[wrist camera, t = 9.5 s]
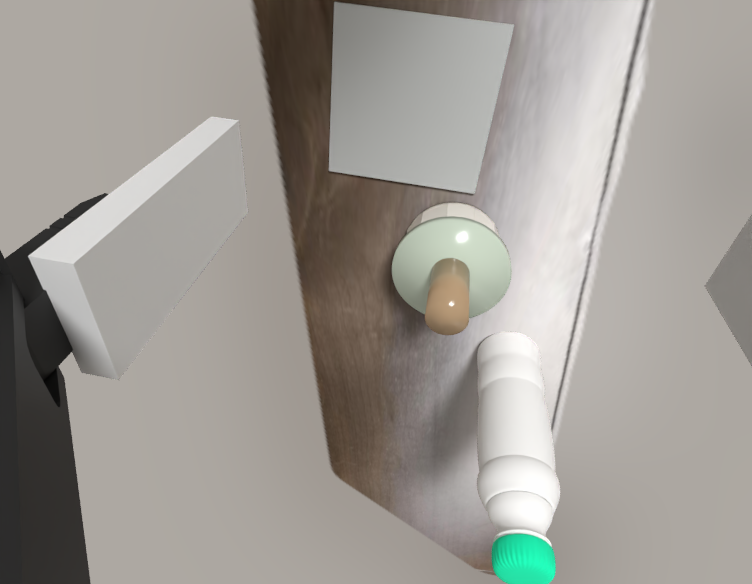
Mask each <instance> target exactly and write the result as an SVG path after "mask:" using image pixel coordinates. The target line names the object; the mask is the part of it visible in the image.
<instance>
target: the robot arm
mask: <svg viewBox="0 0 752 584" xmlns="http://www.w3.org/2000/svg"><path fill="white" fill-rule="evenodd" d="M247 213H248V205H247V194H246V184H245V174H244V164H243V154H242V145H241V134H240V125H239V120H234V119H227V118H220V117H213V116H211V117H210V118H208V119H207V120H206V121H204V122H203V123H202V124H200V125H199V126H198V127H197V128H195V129H194V130H193V131H191V132H190V133H189V134H187V135H186V136H185V137H183V138H182V139H181V140H180V141H178V142H177V143H175V144H174V145H173V146H172V147H170V148H169V149H168V150H167V151H165V152H164V153H162V154H161V155H160V156H159V157H157V158H156V159H155V160H153V161H152V162H151V163H149V164H148V165H147V166H145V167H144V168H143V169H142V170H140V171H139V172H137V173H136V174H135V175H134V176H132V177H131V178H130V179H129V180H127V181H126V182H124V183H123V184H122V185H120V186H119V187H118V188H116V189H115V190H114V191H113V192H111V193H110V194H105V193H104V194H102V195H99V196H97V197H94V198H92V199H90V200H87V201H85V202H82V203H80V204H79V205H78V206H76V207H75V208H73V209H72V210H71V211H69V212H68V213H67V214H65V215H64V218H60V219H59V220H57V221H56V222H54V223H53V224H52V225H50V228H49V229H45V230H43V231H42V232H41V233H39V234H38V235H37V236H35V237H34V238H32V239H31V240H30V241H28V242H27V243H26V244H24V245H23V246H22V247H20V248H19V249H17V250H16V251H15V252H13V253H12V254H11V255H9V256H8V257H6V258H5V259H4V257H3V255H2V253H1V251H0V584H90V577H89V570H88V561H87V553H86V545H85V537H84V530H83V522H82V515H81V506H80V499H79V490H78V483H77V474H76V467H75V459H74V451H73V444H72V435H71V427H70V420H69V412H68V404H67V396H66V388H65V382H64V381H65V380H64V377H63V375H62V373H61V371H60V369H59V367H58V366H59V365H60V363H62V361H63V360H64V359H65V358H66V357H67V356H68V355H69V354H70V353H71V352H72V353H73V355H74V357H75V359H76V361H77V363H78V366H79V368H80V370H81V372H82V373H86V374H92V375H97V376H102V377H107V378H112V379H117V380H119V379H120V377H121V376H122V375H123V374H124V372H125V371H126V370H127V369H128V367H129V366H130V365H131V363H132V362H133V361H134V360H135V358H136V357H137V356H138V354H139V353H140V352H141V350H142V349H143V348H144V347H145V345H146V344H147V343H148V341H149V340H150V339H151V337H152V336H153V335H154V334H155V332H156V331H157V330H158V328H159V327H160V326H161V325H162V323H163V322H164V321H165V319H166V318H167V317H168V315H169V314H170V313H171V312H172V310H173V309H174V308H175V306H176V305H177V304H178V303H179V301H180V300H181V299H182V297H183V296H184V295H185V294H186V292H187V291H188V290H189V288H190V287H191V286H192V284H193V283H194V282H195V281H196V279H197V278H198V277H199V275H200V274H201V273H202V272H203V270H204V269H205V268H206V266H207V265H208V264H209V262H210V261H211V260H212V259H213V257H214V256H215V255H216V253H217V252H218V251H219V249H220V248H221V247H222V246H223V244H224V243H225V242H226V241H227V239H228V238H229V237H230V235H231V234H232V233H233V231H234V230H235V229H236V228H237V226H238V225H239V224H240V222H241V221H242V219H244V217H245V216H246V215H247ZM705 288H706V289H707V291H708V293H709V294H710V296H711V298H712V299H713V301H714V303H715V305H716V306H717V308H718V310H719V311H720V313H721V315H722V316H723V318H724V320H725V321H726V323H727V325H728V327H729V328H730V330H731V332H732V333H733V335H734V337H735V338H736V340H737V342H738V343H739V345H740V347H741V349H742V350H743V352H744V353H745V355H746V357H747V359H748V361H749V362H750V364H751V366H752V215H751V216H750V218H749V219H748V221H747V223H746V224H745V226H744V227H743V228H742V230H741V232H740V233H739V235H738V236H737V238H736V239H735V241H734V242H733V244H732V245H731V247H730V248H729V250H728V251H727V253H726V254H725V256H724V257H723V259H722V260H721V262H720V264H719V265H718V267H717V268H716V270H715V271H714V273H713V274H712V276H711V277H710V279H709V280H708V282H707V283H706V285H705Z"/></svg>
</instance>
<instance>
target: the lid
mask: <svg viewBox="0 0 752 584" xmlns="http://www.w3.org/2000/svg"><path fill="white" fill-rule="evenodd" d="M511 272H512V271H511V261H510V256H509V252H508V250H507V248H506V245H505V244H504V242H503V241H502V239H501V238H500V237H499V236H498V235H497V234H496V233H495V232H494V231H493V230H492V229H490V228H489V227H487V226H485V225H484V224H482V223H480V222H477V221H475V220H472V219H468V218H463V217H455V216H447V217H438V218H434V219H430V220H428V221H425V222H422V223H421V224H419V225H417V226H415V227H414V228H413V229H411V230H410V231H409V232H408V233H407V234H406V235H405V236H404V237H403V238H402V240H401V241H400V243H399V244H398V246H397V248H396V251H395V254H394V258H393V263H392V277H393V281H394V284H395V287H396V289H397V291H398V292H399V294H400V295H401V297H402V298H403V299H404V300H405V301H406V302H407V303H408V304H409V305H410V306H412V307H413V308H414V309H416V310H417V311H419V312H421V313H423V314H425V322H426V324H427V326H428V327H429V328H430V329H431V330H433V331H434V332H436V333H438V334H442V335H454V334H457V333H460V332H461V331H463V330H464V329H465V328H466V327H467V325H468V322H469V318H472V317H475V316H478V315H480V314H483V313H484V312H486V311H488V310H490V309H491V308H492V307H494V306H495V305H496V304H497V303H498V302H499V301H500V300H501V299H502V298H503V296H504V295H505V293H506V291H507V289H508V287H509V285H510V280H511Z"/></svg>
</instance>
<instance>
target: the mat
mask: <svg viewBox="0 0 752 584" xmlns="http://www.w3.org/2000/svg"><path fill="white" fill-rule="evenodd" d="M513 29H514V24H506V23H498V22H490V21H482V20H475V19H467V18H459V17H451V16H444V15H436V14H428V13H420V12H412V11H405V10H397V9H389V8H381V7H373V6H366V5H358V4H350V3H342V2H334V22H333V54H332V85H331V117H330V148H329V171H332V172H339V173H345V174H351V175H358V176H364V177H370V178H377V179H383V180H390V181H396V182H402V183H409V184H415V185H421V186H428V187H434V188H440V189H447V190H453V191H460V192H466V193H472V194H475V190H476V186H477V181H478V177H479V173H480V169H481V164H482V160H483V156H484V152H485V147H486V143H487V139H488V135H489V130H490V126H491V122H492V118H493V113H494V109H495V105H496V101H497V97H498V92H499V88H500V84H501V80H502V75H503V71H504V67H505V63H506V58H507V54H508V50H509V46H510V41H511V37H512V33H513Z"/></svg>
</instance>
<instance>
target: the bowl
mask: <svg viewBox="0 0 752 584" xmlns="http://www.w3.org/2000/svg"><path fill="white" fill-rule="evenodd" d="M447 216H455V217H463V218H468V219H472V220H475V221H477V222H480V223H482V224H484V225H485V226H487V227H489V228H490V229H492V230H493V231H494V232H495V233H496V234H497V235H498V236H499V234H498V230H497V228H496V226H495V224H494V222H493V221H492V220H491V219H490V217H489V216H488V215H486V214H485V213H484V212H483V211H481V210H480V209H478V208H476V207H474V206H471V205H468V204H465V203H458V202H447V203H441V204H437V205H434V206H432V207H429V208H428V209H426V210H424V211H423V212H422V213H420V214H419V215H418V216H417V217H416V218H415V219H414V221H413V222H412V224H411V225H410V227H409V228H408V229H407V233H408V232H409V231H410V230H411V229H413V228H414V227H415V226H417V225H419V224H421V223H422V222H425V221H428V220H430V219H434V218H438V217H447Z"/></svg>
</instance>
